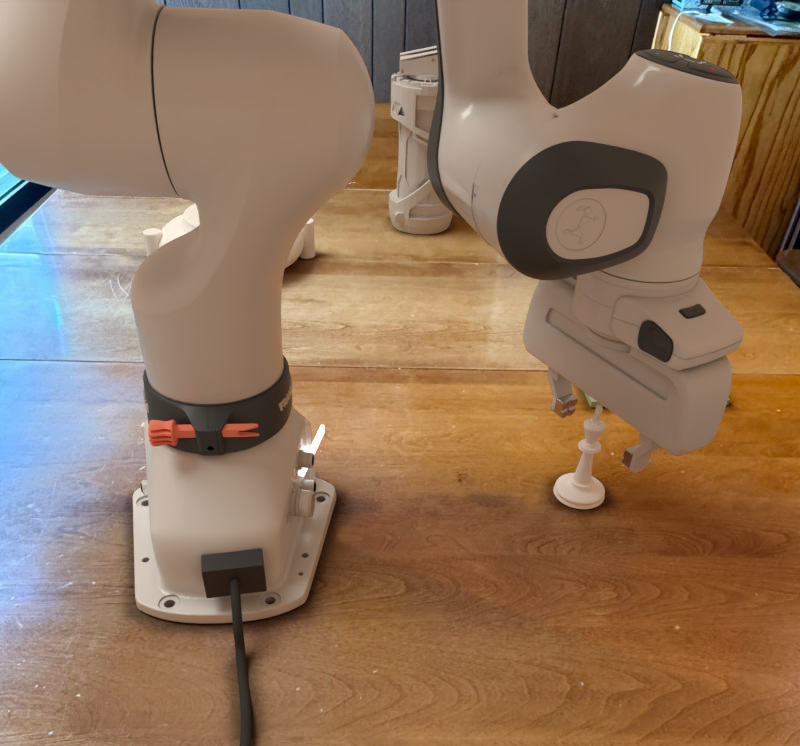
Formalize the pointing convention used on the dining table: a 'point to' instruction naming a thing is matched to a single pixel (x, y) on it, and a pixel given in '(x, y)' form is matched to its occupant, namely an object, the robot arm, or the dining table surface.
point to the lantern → (415, 145)
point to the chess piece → (584, 470)
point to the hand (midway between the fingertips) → (596, 438)
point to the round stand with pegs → (190, 221)
